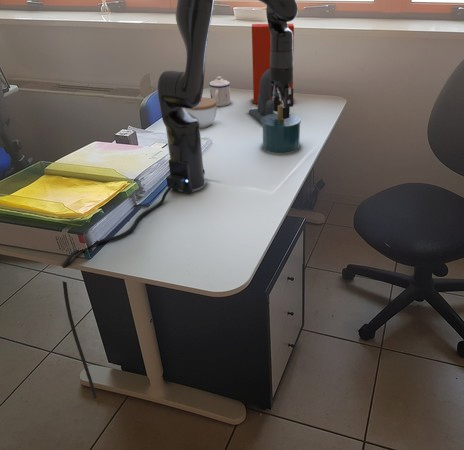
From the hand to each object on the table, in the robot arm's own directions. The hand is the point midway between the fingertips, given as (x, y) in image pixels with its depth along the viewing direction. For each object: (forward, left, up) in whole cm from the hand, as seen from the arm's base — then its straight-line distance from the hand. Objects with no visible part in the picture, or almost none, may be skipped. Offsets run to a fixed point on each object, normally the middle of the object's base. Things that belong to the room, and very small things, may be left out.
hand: (281, 114), depth 157 cm
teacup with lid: (+36, +44, -12) cm, 58 cm away
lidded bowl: (+10, +38, -12) cm, 41 cm away
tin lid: (0, 0, -2) cm, 2 cm away
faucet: (+29, +15, -12) cm, 35 cm away
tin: (0, 0, -12) cm, 12 cm away
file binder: (+49, +24, -12) cm, 56 cm away
